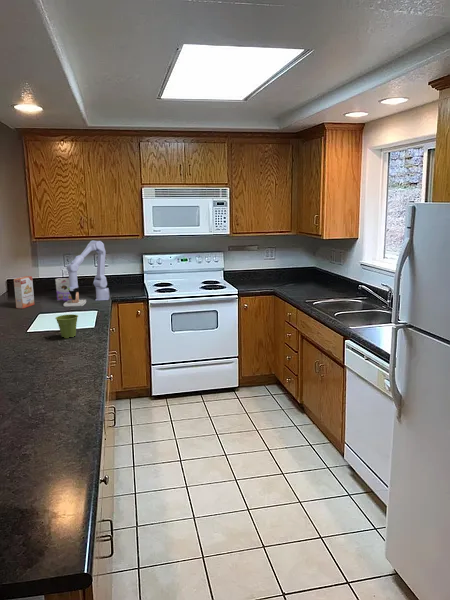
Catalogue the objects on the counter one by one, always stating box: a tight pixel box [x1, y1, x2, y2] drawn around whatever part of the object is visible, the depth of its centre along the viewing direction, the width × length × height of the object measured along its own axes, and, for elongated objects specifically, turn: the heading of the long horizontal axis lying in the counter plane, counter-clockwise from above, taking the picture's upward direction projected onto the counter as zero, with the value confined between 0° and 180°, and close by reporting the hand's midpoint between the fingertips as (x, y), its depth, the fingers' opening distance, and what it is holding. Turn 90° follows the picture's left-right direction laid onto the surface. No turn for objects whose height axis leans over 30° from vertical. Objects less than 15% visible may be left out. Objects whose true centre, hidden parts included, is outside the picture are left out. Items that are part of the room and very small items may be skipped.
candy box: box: [54, 277, 72, 302], centre depth 367 cm, size 14×6×16 cm, turn 84°
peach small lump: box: [72, 291, 80, 303], centre depth 351 cm, size 5×5×7 cm
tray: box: [63, 299, 87, 307], centre depth 352 cm, size 13×13×2 cm
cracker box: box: [13, 275, 35, 310], centre depth 346 cm, size 14×6×21 cm, turn 168°
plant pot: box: [54, 314, 79, 339], centre depth 266 cm, size 12×12×11 cm
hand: (74, 299), depth 351 cm, fingers closed on peach small lump, 5 cm apart
